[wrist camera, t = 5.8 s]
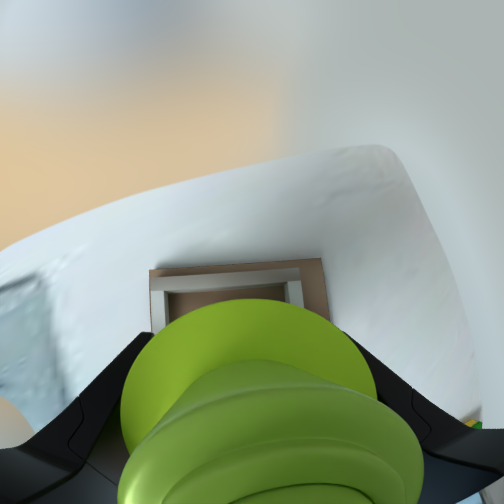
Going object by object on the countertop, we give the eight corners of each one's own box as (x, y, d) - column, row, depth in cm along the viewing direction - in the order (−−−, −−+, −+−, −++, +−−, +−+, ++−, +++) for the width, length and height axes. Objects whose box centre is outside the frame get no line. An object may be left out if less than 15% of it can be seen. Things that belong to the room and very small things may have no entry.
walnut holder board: (335, 487, 18) (346, 499, 15) (183, 506, 16) (180, 521, 13) (317, 261, 24) (327, 252, 21) (152, 272, 22) (143, 264, 20)
